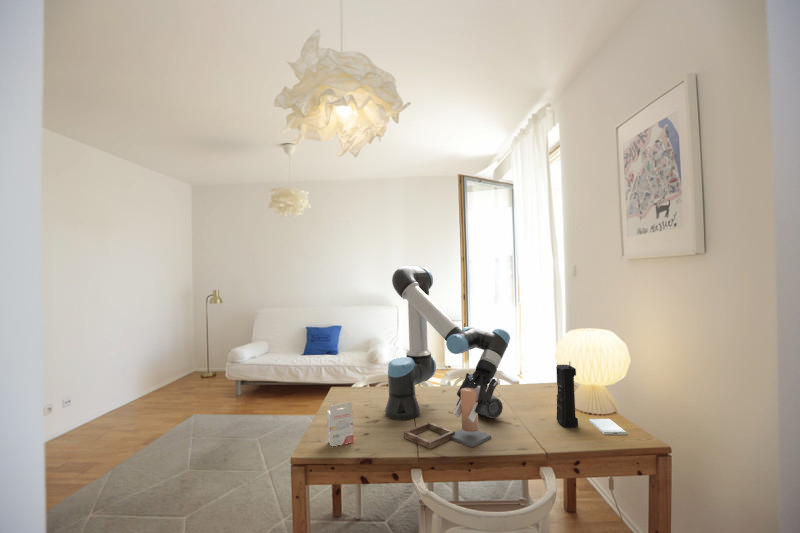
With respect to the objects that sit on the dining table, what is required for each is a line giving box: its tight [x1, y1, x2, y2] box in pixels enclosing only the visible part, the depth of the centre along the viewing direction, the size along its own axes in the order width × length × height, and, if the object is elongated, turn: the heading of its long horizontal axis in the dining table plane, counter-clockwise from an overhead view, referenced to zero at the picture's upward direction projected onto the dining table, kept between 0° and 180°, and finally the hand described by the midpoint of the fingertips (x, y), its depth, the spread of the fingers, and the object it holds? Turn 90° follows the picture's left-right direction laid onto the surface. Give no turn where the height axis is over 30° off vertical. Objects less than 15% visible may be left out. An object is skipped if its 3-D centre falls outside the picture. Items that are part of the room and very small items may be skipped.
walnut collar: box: [403, 421, 456, 449], centre depth 139 cm, size 13×13×2 cm
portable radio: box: [556, 362, 579, 428], centre depth 148 cm, size 8×6×25 cm
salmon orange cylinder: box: [460, 388, 479, 432], centre depth 137 cm, size 6×6×14 cm
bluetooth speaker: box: [475, 386, 504, 419], centre depth 163 cm, size 23×9×10 cm, turn 18°
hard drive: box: [588, 418, 628, 436], centre depth 143 cm, size 2×8×12 cm
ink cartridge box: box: [326, 402, 355, 447], centre depth 137 cm, size 9×5×15 cm, turn 114°
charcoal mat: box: [450, 428, 492, 449], centre depth 137 cm, size 11×11×1 cm
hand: (463, 417), depth 135 cm, fingers closed on salmon orange cylinder, 6 cm apart
